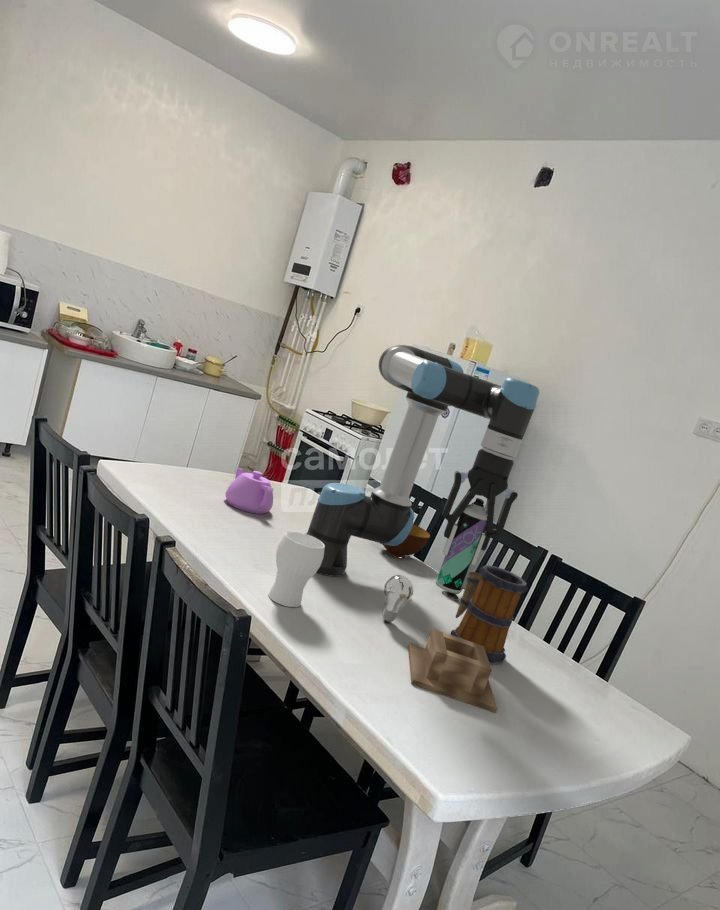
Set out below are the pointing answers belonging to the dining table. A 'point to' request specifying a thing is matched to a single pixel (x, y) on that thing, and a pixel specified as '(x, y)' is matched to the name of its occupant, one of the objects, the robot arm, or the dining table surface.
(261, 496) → the teapot
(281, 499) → the dining table surface
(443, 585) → the spray can
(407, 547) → the bowl
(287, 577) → the cup
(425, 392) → the robot arm
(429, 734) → the dining table surface
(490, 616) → the mug
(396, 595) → the light bulb
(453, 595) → the dark grey chess piece
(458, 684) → the socket block
